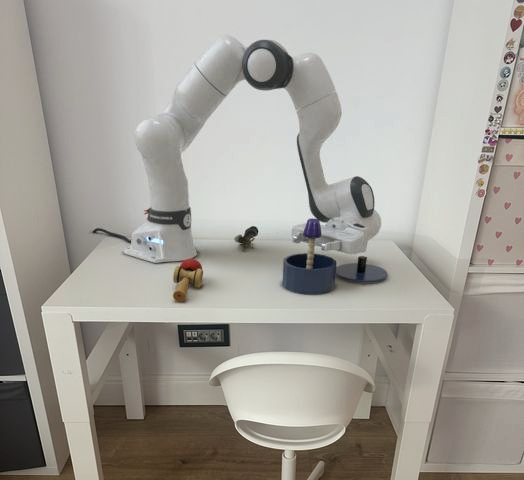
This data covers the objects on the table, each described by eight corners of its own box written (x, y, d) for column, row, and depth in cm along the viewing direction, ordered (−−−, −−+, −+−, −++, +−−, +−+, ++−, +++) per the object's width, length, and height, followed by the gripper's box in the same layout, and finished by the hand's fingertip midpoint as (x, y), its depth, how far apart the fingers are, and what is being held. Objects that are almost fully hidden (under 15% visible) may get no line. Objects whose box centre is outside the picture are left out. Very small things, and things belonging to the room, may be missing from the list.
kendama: (199, 307, 120) (210, 272, 135) (192, 284, 117) (204, 251, 131) (168, 311, 121) (182, 276, 136) (161, 288, 118) (176, 255, 132)
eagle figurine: (261, 248, 156) (263, 235, 163) (248, 230, 153) (251, 218, 160) (241, 259, 159) (244, 246, 166) (228, 241, 156) (232, 229, 163)
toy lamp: (320, 282, 132) (325, 218, 124) (313, 287, 129) (317, 222, 121) (304, 278, 134) (308, 216, 126) (296, 283, 131) (300, 219, 123)
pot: (274, 288, 129) (274, 264, 126) (294, 273, 140) (295, 250, 137) (323, 298, 124) (325, 273, 121) (341, 281, 134) (343, 258, 131)
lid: (326, 279, 136) (328, 260, 134) (343, 264, 148) (345, 246, 145) (379, 288, 130) (382, 269, 128) (392, 272, 142) (395, 254, 139)
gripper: (310, 215, 139) (278, 223, 130) (373, 228, 127) (342, 239, 118) (309, 237, 142) (277, 247, 133) (371, 252, 130) (340, 264, 121)
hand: (308, 243), depth 126 cm, fingers open, 8 cm apart
